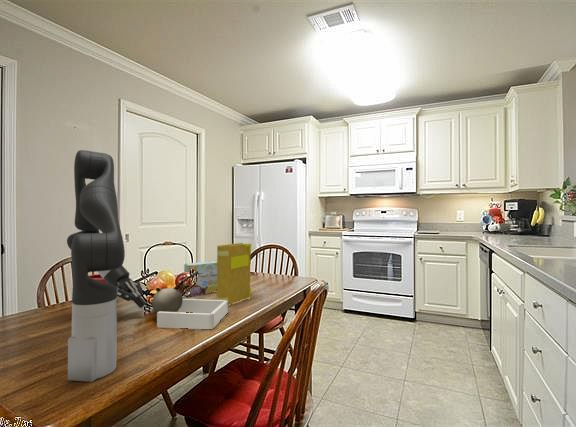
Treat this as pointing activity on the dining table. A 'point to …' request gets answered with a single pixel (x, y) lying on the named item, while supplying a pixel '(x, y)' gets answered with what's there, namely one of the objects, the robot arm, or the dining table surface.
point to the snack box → (203, 277)
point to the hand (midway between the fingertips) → (143, 305)
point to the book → (233, 272)
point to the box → (194, 314)
